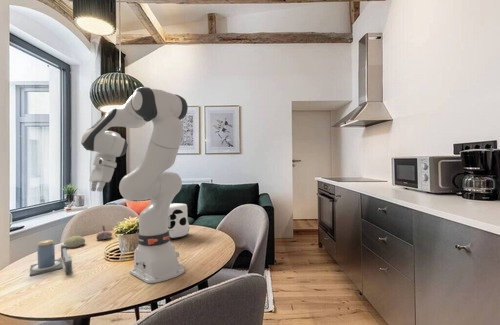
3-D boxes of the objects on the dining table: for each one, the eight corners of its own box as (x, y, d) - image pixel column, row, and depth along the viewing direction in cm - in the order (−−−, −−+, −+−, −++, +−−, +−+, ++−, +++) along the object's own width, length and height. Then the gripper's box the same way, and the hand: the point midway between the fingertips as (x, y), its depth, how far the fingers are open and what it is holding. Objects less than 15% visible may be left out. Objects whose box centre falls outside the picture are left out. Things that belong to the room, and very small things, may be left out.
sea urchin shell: (70, 246, 124) (64, 233, 127) (65, 255, 127) (59, 242, 130) (89, 241, 132) (83, 229, 135) (84, 249, 135) (79, 237, 138)
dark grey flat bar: (71, 273, 97) (71, 260, 97) (65, 274, 96) (65, 261, 96) (66, 254, 117) (66, 244, 117) (61, 256, 116) (60, 245, 116)
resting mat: (62, 268, 102) (62, 266, 102) (30, 276, 95) (29, 274, 95) (60, 260, 111) (60, 258, 111) (30, 266, 105) (30, 264, 105)
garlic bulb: (93, 241, 138) (93, 226, 138) (101, 237, 145) (101, 223, 145) (107, 241, 138) (107, 226, 138) (114, 236, 145) (114, 223, 145)
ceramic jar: (55, 265, 103) (54, 241, 103) (37, 269, 99) (37, 244, 99) (54, 261, 107) (54, 238, 107) (37, 265, 104) (37, 241, 103)
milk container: (186, 231, 155) (186, 202, 154) (191, 238, 139) (191, 206, 139) (157, 234, 148) (156, 204, 148) (159, 243, 132) (158, 209, 132)
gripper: (90, 163, 127) (82, 189, 124) (104, 160, 113) (95, 190, 110) (103, 166, 131) (96, 192, 128) (118, 164, 118) (110, 192, 114)
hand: (96, 191), depth 119 cm, fingers open, 8 cm apart
